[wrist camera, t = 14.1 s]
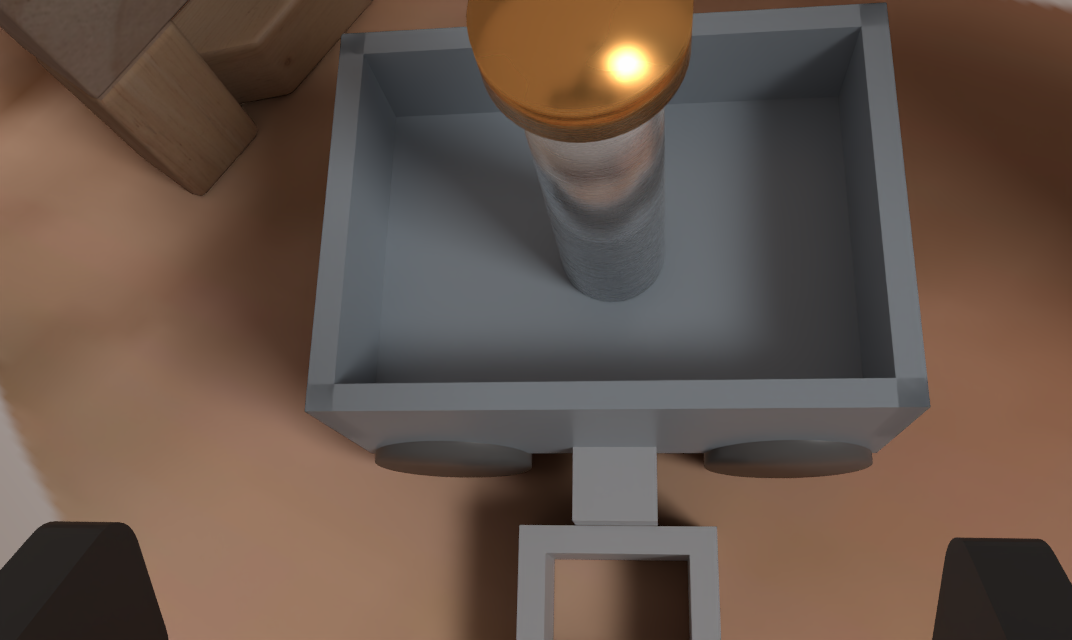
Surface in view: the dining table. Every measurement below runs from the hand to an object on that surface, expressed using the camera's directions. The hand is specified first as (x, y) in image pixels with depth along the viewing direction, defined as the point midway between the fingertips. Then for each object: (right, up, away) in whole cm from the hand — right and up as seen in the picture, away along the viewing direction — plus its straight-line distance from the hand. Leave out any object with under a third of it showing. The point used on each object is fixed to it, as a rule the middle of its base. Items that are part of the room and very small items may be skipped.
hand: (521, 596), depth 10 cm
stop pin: (+2, +5, +19) cm, 19 cm away
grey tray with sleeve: (+3, 0, +22) cm, 22 cm away
